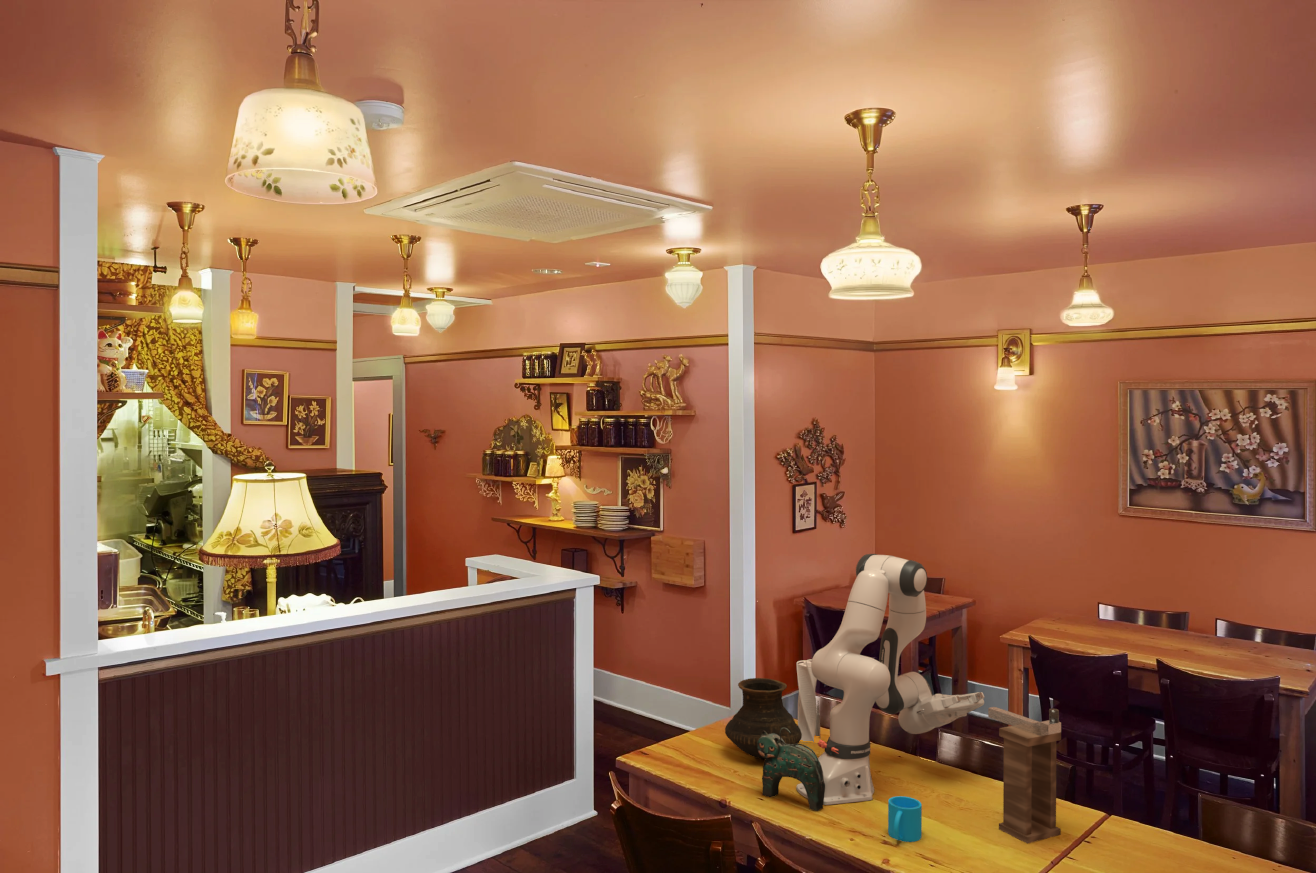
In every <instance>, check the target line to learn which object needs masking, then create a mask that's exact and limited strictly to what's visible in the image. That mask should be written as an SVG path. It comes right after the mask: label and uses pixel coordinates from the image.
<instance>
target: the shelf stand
mask: <svg viewBox="0 0 1316 873" xmlns="http://www.w3.org/2000/svg"><path fill="white" fill-rule="evenodd" d="M998 732H999V733H998V736H999V737H1001V738H1003V786H1002V788H1003V792H1002V793H1003V795H1002V796H1003V797H1002V798H1003V799H1002V800H1003V802H1002V803H1003V806H1002V808H1003V809H1002V812H1003V813H1002V814H1003V815H1002V817H1003V819H1002V820H1003V822H1000V823H998V830H999V831H1002V832H1003V833H1006V834H1008V835H1010V836H1011V837H1014V838H1015V839H1018V840H1020V841H1021V842H1023V843H1025V844H1031V843H1035V842H1038V841H1042V840H1045V839H1049V838H1053V837H1057V836H1060V835H1061V834H1062V833H1061V832H1062V831H1061V830H1062V829H1061V827H1058V826H1057V741H1062V731H1061V732H1060V733H1055V734H1049V735H1044V736H1040V735H1037V734H1034V733H1031V732H1028V731H1026V730H1023V729H1020V728H1017V727H1014V726H1011V725H1009V726H1004V727H999V729H998Z"/></svg>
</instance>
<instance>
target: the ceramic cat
mask: <svg viewBox="0 0 1316 873" xmlns="http://www.w3.org/2000/svg"><path fill="white" fill-rule="evenodd" d="M782 729H786V730H787V731H788V732H789V733H790V734H791V732H790V731H789V730H788V729H787V728H785V727H783V728H781V729H780V733H781V730H782ZM757 749H758V753H759V754H760V755H761V756H762V757H764V758H765V759H764V762H763V765H762V778H761V781H762V783H761V784H762V796H765V797H766V798H767V797H768V798H774V797H776V796H778V795H779V793H780V792H779V791H780V789H779V786H780V783H781V780H782V779H783V778H792V779H795V780H797V781H798V782H800V783H802V784H803V785H804V787H805V790H806V793H807V797H808V798H807V801H808V802H807V803H808V809H809V810H811V811H815V812H819V811H821V810H822V809H824V804H823V803H824V793H825V782H824V776H823V771H822V767H821V764H820V762H819V760H818V756H817V753H816V752H815V751H814V750H813V748H811V747H810V746H807V745H806V744H802V743H798V744H786V743H785V742H784V741H783V739H782V738H781V734H780V736H779V735H777V734H774V733H772V734H767V733H766V732H765V731H763V732H762V735H761V737H760V738H759V740H758V742H757Z"/></svg>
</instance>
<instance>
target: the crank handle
mask: <svg viewBox="0 0 1316 873" xmlns="http://www.w3.org/2000/svg"><path fill="white" fill-rule="evenodd" d="M987 709H988V712H987V713H988V714H987V718H989V719H992V720H995V721H998V722H1000V723H1003V724H1005V725H1009V726H1014V727H1017V728H1020V729H1023V730H1026V731H1028V732H1031V733H1034V734H1037V735H1040V736H1044V735H1049V734H1055V733H1060V732H1061V733H1062V722H1060V720H1059V719H1060V718H1059V717H1060V715H1059V714H1060V713H1059V711H1060V710H1059V709H1057V708H1049V710H1048V713H1049V715H1048V717H1049V719H1048V720H1043V721H1038V720H1035V719H1032V718H1028V717H1026V716H1024V715H1021V714H1017V713H1014V712H1012V711H1009V710H1006V709H1003V708H999V707H996V706H991V707H988V708H987Z"/></svg>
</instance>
